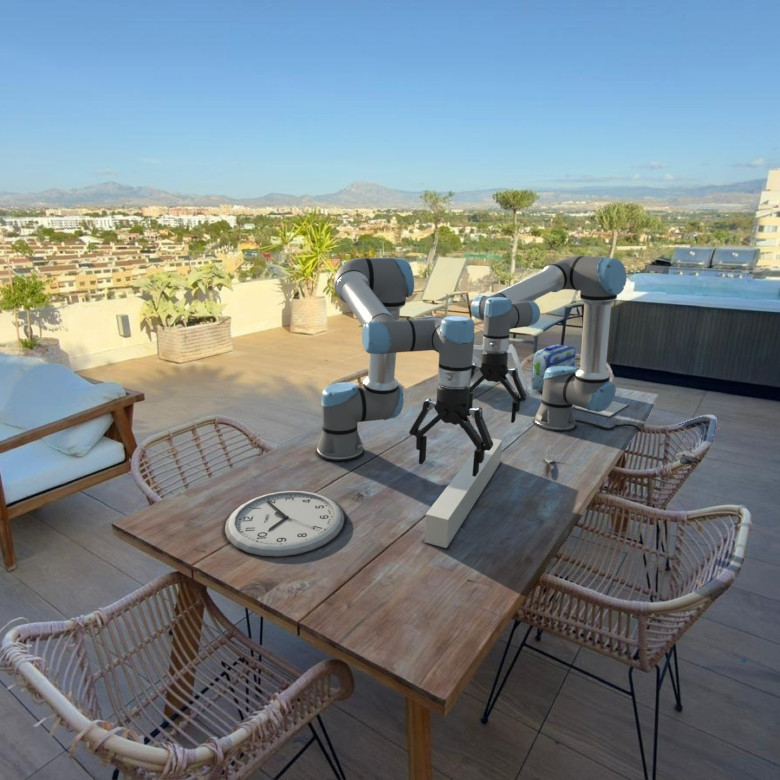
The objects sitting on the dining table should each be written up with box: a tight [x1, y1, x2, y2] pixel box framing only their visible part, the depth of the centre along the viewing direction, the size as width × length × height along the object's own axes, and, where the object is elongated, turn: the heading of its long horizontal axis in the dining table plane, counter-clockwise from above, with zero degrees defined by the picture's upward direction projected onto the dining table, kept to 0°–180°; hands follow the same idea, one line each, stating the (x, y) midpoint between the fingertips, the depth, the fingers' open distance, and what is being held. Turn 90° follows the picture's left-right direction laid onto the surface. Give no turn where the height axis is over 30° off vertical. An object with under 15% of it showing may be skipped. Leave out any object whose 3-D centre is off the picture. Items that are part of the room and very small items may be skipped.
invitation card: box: [573, 400, 629, 418], centre depth 226 cm, size 21×1×15 cm
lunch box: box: [530, 344, 577, 392], centre depth 247 cm, size 26×11×21 cm, turn 134°
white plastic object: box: [471, 343, 531, 397], centre depth 245 cm, size 37×45×31 cm
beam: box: [424, 437, 503, 549], centre depth 148 cm, size 54×6×8 cm, turn 155°
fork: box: [544, 451, 555, 476], centre depth 168 cm, size 3×16×2 cm, turn 160°
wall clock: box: [224, 490, 345, 557], centre depth 134 cm, size 30×2×30 cm
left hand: (448, 468), depth 127 cm, fingers open, 13 cm apart
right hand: (491, 418), depth 161 cm, fingers open, 13 cm apart
